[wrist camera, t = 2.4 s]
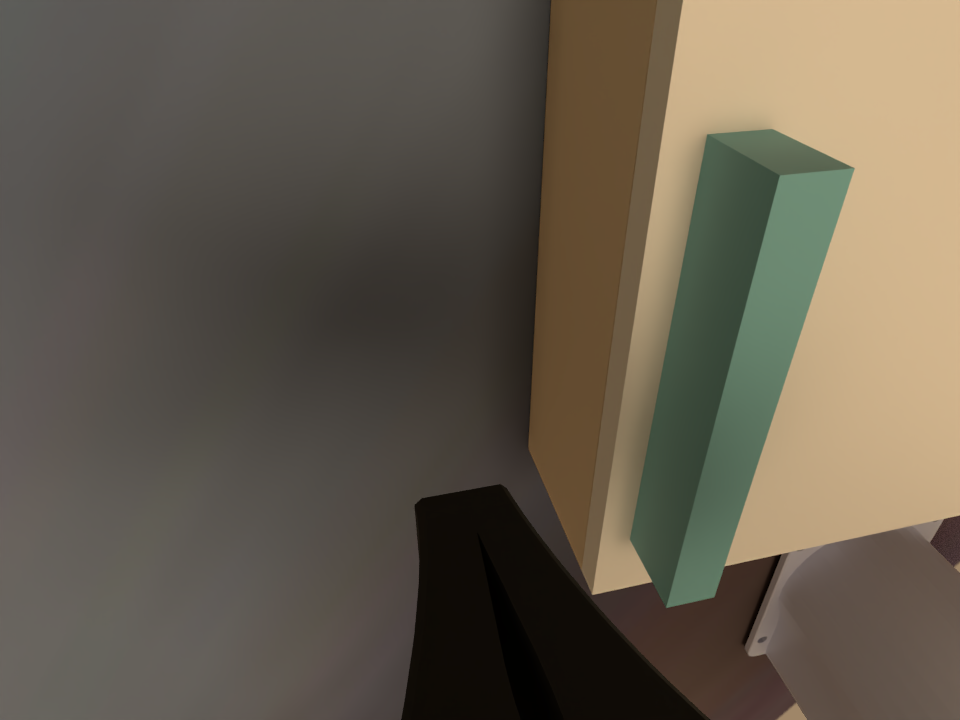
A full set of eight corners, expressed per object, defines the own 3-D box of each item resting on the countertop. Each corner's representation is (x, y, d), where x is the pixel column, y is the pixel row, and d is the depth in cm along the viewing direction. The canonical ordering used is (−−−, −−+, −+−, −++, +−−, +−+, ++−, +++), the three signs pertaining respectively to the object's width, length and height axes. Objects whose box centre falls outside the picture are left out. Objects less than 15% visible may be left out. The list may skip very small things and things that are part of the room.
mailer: (1016, 365, 26) (1148, 451, 22) (528, 448, 22) (581, 568, 18) (1255, -54, 18) (1533, -41, 14) (553, -37, 14) (656, -11, 10)
